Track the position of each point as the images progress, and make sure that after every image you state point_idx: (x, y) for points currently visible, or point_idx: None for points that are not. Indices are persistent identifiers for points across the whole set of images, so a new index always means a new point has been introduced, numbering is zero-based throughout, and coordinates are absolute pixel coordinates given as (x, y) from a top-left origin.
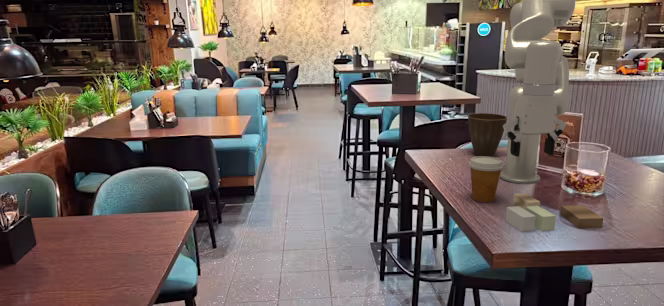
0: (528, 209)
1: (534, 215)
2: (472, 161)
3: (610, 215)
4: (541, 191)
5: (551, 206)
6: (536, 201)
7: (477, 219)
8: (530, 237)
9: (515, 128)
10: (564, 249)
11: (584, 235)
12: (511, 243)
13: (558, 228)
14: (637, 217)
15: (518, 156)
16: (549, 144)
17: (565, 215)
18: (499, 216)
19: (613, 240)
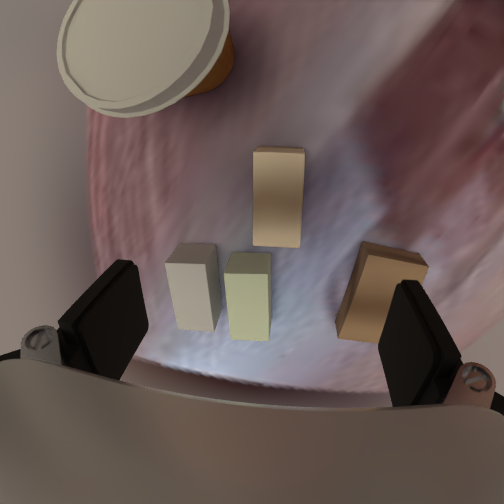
0: (225, 284)
1: (213, 327)
2: (58, 49)
3: (468, 275)
4: (444, 52)
5: (387, 177)
6: (288, 242)
7: (114, 219)
8: (195, 330)
9: (14, 373)
10: (232, 376)
11: (317, 348)
12: (148, 337)
13: (288, 311)
14: (498, 295)
15: (145, 325)
16: (400, 380)
17: (356, 271)
18: (176, 212)
19: (352, 371)
